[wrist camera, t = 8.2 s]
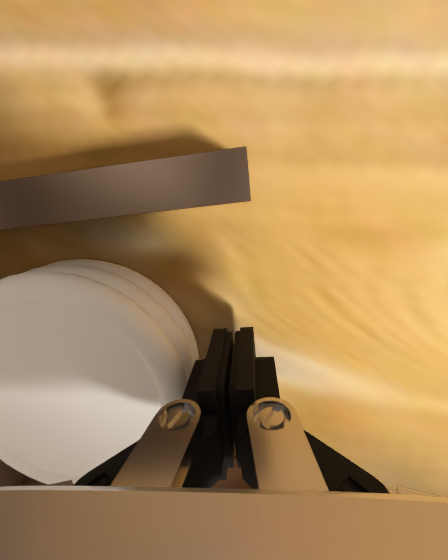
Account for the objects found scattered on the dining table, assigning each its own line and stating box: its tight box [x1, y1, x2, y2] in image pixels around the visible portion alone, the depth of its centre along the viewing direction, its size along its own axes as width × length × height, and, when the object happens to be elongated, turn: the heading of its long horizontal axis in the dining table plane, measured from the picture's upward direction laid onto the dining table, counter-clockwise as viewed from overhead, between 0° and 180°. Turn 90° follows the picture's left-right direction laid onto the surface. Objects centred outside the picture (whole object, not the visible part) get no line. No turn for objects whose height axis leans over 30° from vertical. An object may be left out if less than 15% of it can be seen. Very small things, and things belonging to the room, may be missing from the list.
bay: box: [0, 147, 252, 489], centre depth 12 cm, size 15×16×2 cm
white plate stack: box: [0, 259, 199, 485], centre depth 12 cm, size 10×10×4 cm
